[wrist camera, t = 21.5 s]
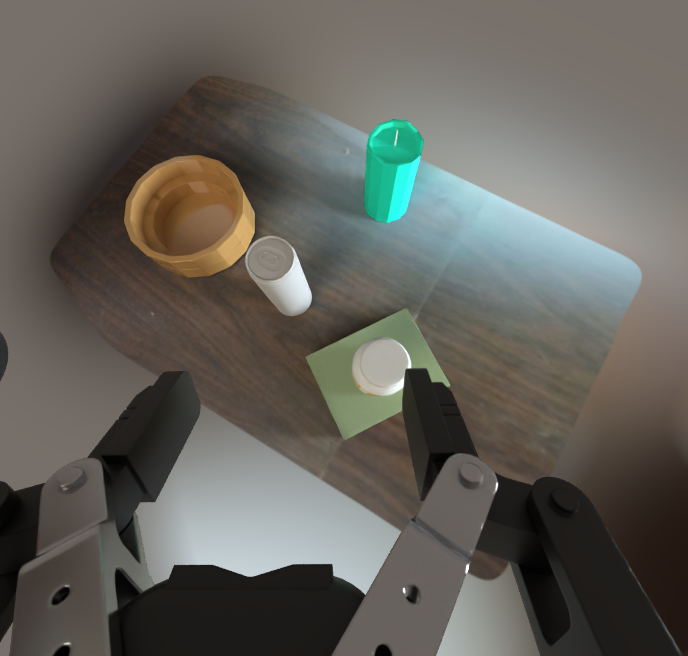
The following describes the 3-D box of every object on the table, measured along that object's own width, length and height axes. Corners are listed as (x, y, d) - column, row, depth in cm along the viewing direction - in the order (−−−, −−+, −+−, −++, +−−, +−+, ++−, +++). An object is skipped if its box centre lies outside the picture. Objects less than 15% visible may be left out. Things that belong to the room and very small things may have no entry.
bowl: (170, 296, 41) (145, 281, 36) (136, 207, 44) (110, 183, 40) (272, 249, 42) (261, 229, 37) (232, 166, 46) (218, 138, 41)
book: (344, 437, 37) (344, 440, 34) (308, 360, 39) (305, 356, 36) (443, 387, 38) (450, 385, 35) (402, 314, 40) (406, 307, 37)
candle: (379, 230, 43) (389, 165, 31) (355, 197, 44) (356, 123, 32) (416, 208, 43) (439, 136, 31) (391, 176, 44) (404, 96, 33)
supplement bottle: (342, 376, 35) (338, 367, 26) (371, 339, 36) (377, 317, 27) (381, 407, 34) (392, 409, 25) (410, 367, 35) (430, 355, 26)
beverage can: (300, 324, 40) (278, 291, 28) (268, 306, 41) (233, 268, 29) (319, 292, 41) (305, 248, 29) (287, 275, 41) (261, 226, 30)
